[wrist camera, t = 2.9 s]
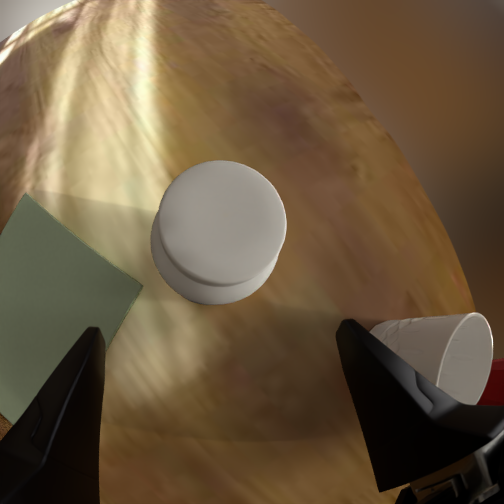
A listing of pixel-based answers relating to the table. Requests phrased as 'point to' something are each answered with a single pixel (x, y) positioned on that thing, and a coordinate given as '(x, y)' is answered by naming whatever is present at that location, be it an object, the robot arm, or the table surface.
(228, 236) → the pill bottle
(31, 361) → the mat
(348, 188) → the table surface
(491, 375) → the plastic cup
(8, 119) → the table surface
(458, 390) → the white cup
